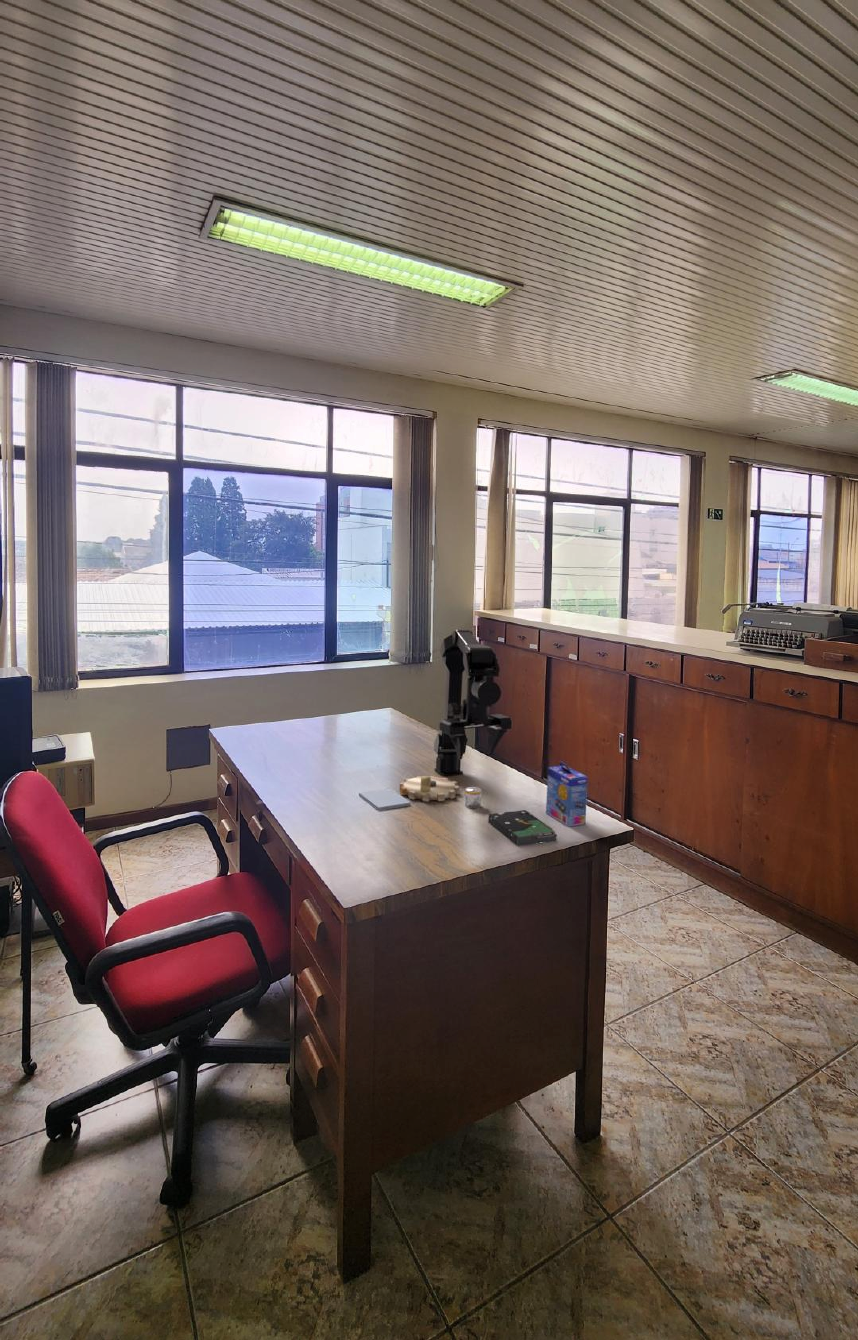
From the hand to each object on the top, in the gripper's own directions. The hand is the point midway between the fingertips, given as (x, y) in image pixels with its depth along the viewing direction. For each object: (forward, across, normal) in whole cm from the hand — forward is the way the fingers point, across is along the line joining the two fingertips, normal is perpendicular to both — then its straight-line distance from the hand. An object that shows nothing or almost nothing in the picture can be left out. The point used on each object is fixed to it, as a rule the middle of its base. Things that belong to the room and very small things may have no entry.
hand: (474, 757), depth 171 cm
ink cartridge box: (+13, -16, +17) cm, 27 cm away
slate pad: (+13, +19, -13) cm, 26 cm away
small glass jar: (+13, 0, 0) cm, 13 cm away
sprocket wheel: (+13, +5, -14) cm, 20 cm away
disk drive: (+14, -1, +19) cm, 23 cm away
